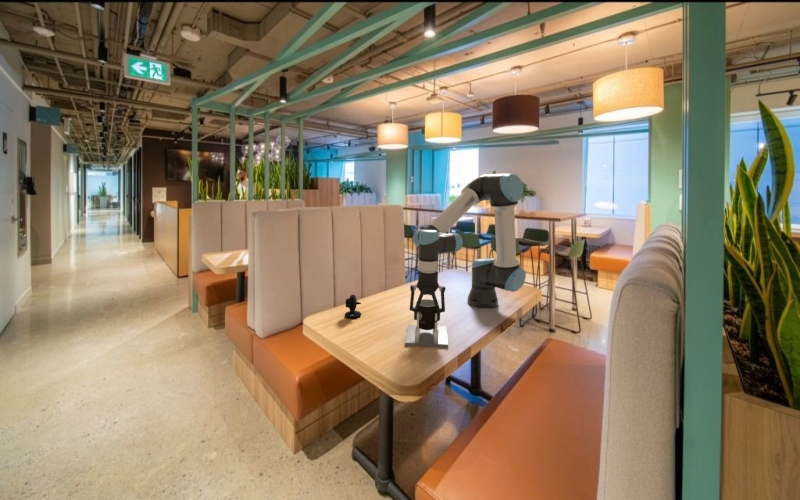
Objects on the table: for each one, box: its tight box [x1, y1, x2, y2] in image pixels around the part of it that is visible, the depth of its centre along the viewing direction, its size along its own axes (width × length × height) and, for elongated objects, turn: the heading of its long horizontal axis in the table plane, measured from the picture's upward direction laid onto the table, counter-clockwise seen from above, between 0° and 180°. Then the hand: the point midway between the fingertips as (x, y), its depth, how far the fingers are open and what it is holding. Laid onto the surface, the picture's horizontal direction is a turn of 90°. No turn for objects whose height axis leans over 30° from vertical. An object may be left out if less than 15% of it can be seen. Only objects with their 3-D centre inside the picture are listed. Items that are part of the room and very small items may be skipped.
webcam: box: [344, 294, 362, 320], centre depth 155 cm, size 8×8×10 cm
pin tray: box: [404, 321, 449, 349], centre depth 134 cm, size 16×17×6 cm
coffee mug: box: [416, 298, 441, 330], centre depth 133 cm, size 12×9×10 cm
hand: (426, 327), depth 134 cm, fingers closed on coffee mug, 6 cm apart
